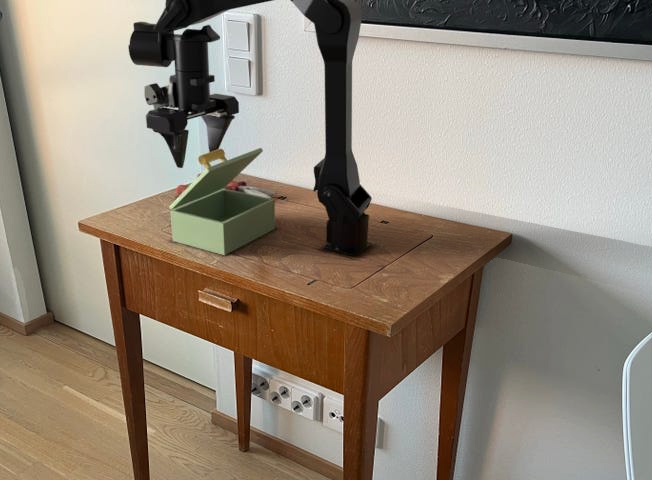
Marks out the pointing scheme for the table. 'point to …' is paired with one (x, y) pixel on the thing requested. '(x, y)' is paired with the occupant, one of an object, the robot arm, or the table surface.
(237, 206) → the box
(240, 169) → the lid
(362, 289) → the table surface
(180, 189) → the pliers
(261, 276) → the table surface
